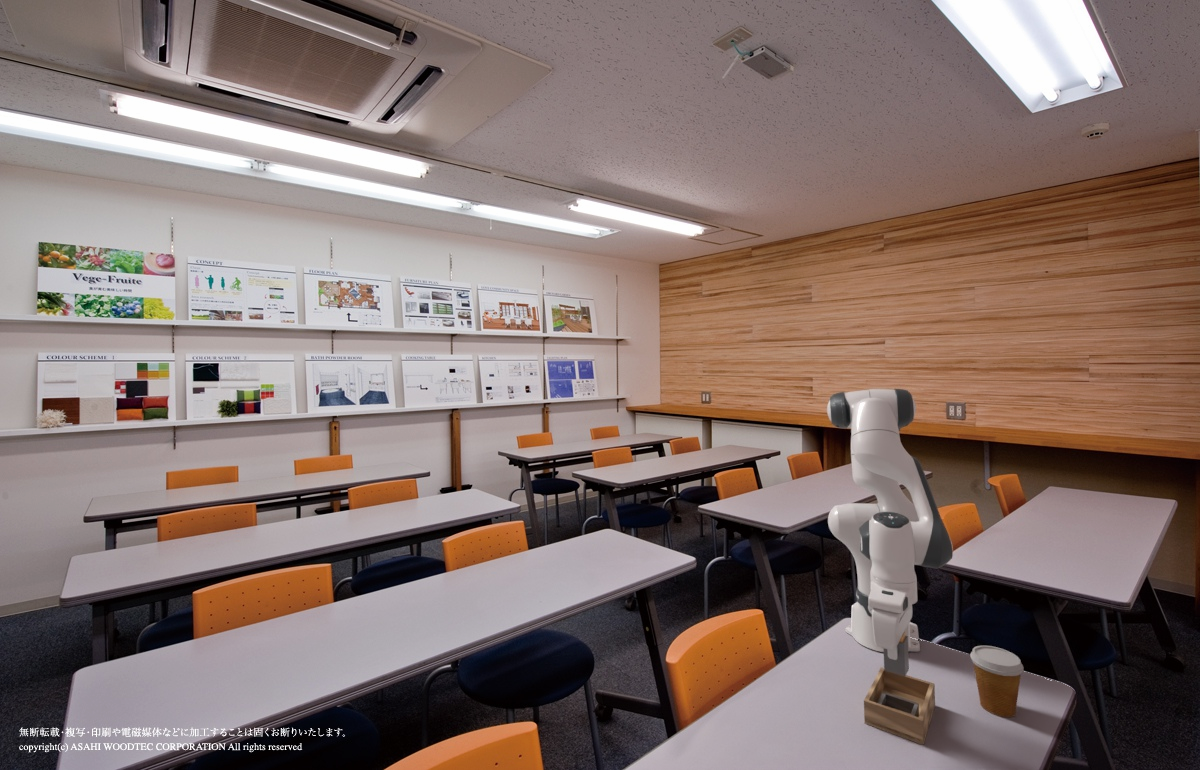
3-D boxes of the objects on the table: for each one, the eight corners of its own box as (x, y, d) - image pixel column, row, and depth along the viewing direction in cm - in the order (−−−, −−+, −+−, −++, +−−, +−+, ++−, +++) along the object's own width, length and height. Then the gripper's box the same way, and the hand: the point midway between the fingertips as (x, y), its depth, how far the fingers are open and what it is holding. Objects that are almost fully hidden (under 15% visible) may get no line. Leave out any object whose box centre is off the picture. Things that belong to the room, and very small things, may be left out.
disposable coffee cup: (1009, 697, 119) (1007, 645, 119) (1035, 724, 110) (1033, 668, 110) (963, 693, 121) (961, 643, 121) (984, 720, 112) (983, 665, 112)
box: (881, 687, 125) (880, 667, 124) (935, 705, 117) (934, 683, 117) (864, 723, 112) (863, 700, 112) (923, 745, 105) (922, 720, 105)
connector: (888, 662, 115) (887, 626, 115) (908, 668, 112) (907, 631, 112) (884, 670, 112) (882, 633, 112) (905, 676, 109) (903, 638, 109)
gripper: (887, 572, 122) (890, 630, 122) (865, 601, 107) (868, 668, 106) (918, 577, 118) (920, 638, 118) (900, 609, 102) (903, 678, 102)
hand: (895, 652), depth 112 cm, fingers closed on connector, 4 cm apart
